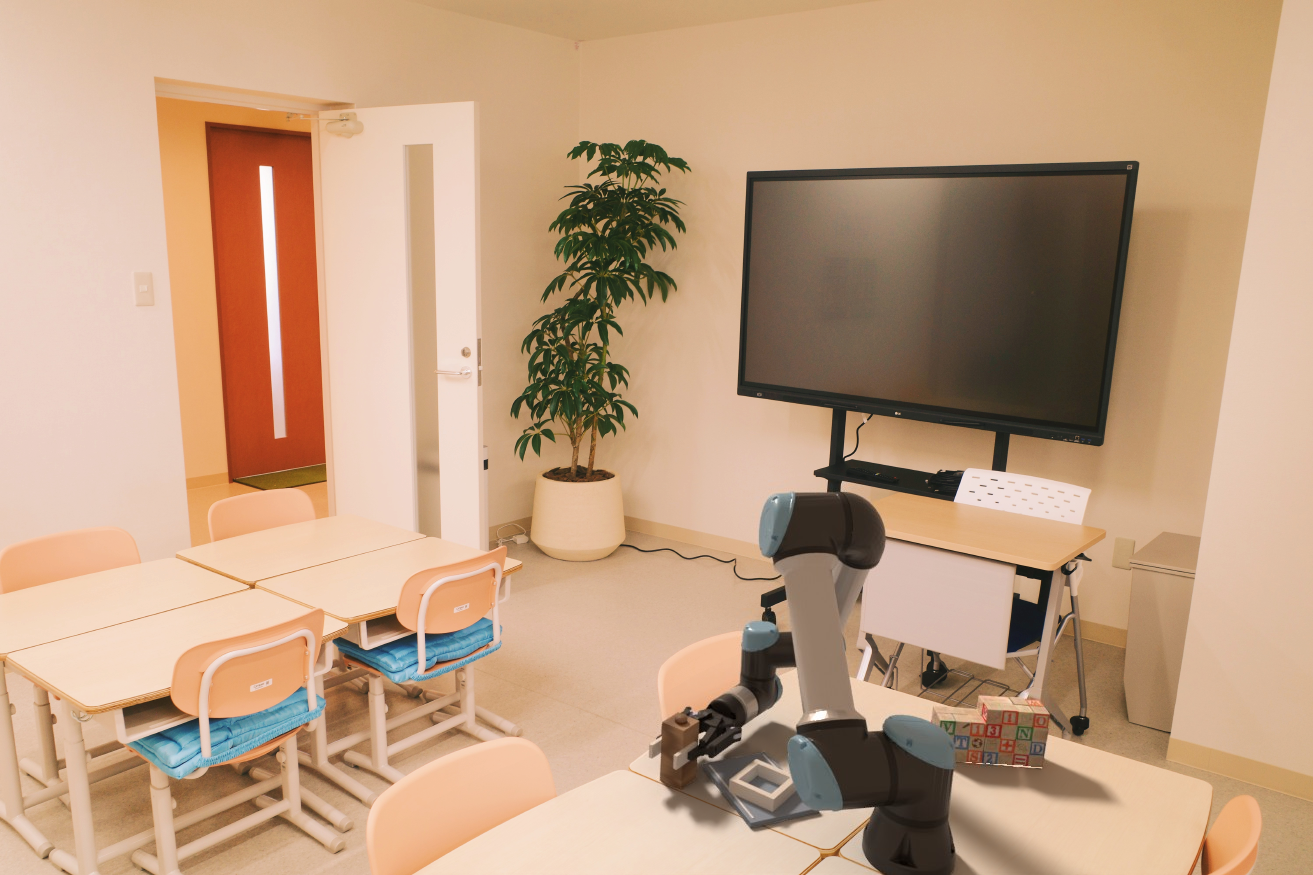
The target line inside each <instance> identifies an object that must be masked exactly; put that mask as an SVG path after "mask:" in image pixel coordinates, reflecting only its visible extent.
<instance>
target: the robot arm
mask: <svg viewBox="0 0 1313 875" xmlns="http://www.w3.org/2000/svg"><path fill="white" fill-rule="evenodd" d="M758 525H759V527H758V545H759V550H760V552H761V555H762V556H763V557H764V558H767V559H771V558H772V564H773V565H772V566H773V570H774V571H776V572H777V574H779V575H780V576H781V577H783V582H784V587H785V589H784V590H785V595H786V602H787V609H788V610H787V611H788V617H789V623H790V631H779V628H778V626H777V625H776V624H774V623H773V622H770V621H763V620H753V621H750V622H747V623H746V624H745V626H744V627H743V632H742V639H741V644H740V646H741V650H740V652H741V654H740V655H741V656H740V674H739V683H738V684H736V685H735V686H733V687H732V688H730V689H729V690H727V691H726V692H723V693H722V694H721V695H719V696H718V697H716V698H714V699H713V700H711V701H710V702H709V704H708V705H707V706H706V708H704V709H700V710H698V711H694V710H692V709H693V708H692V707H691V706H686V707H685V708H684V709H683V711H681V712H680V713H682V714H686V715H687V716H689V717H691V718H693V719H696V720H698V721H699V735H700V734H703V733H704V735H703V736H702V737H701V738H698V742H695V741H694V742H692V743H691V744H689V745H688V746H687V747H685V748H684V749H682V750H680V751H679V752H677V753H676V754H674V760H673V769H675V770H677V769H679V768H680V767H681V766H683V765H684V764H686V763H687V762H689V761H694V760H695V759H697V760H698V758H700V757H704V756H707V758H709V759H714V758H716V757H717V756H718V755H719V754H721V753H722V752H723V751H725V750H726V749H727V748H729V747H730V746H732V745H733V744H736V743H738V742H741V741H742V735H743V733H742V732H743V727H744V726H746V725H747V724H749V723H750V722H751V721H752V720H754V719H755V718H757V717H759V715H761V714H762V713H763V714H764V713H765V712H766V711H767V710H770V709H771V708H773V707H774V705H775V704H777V703H778V702H779V701H780V699H781V698H782V696H783V692H784V687H783V684H782V682H781V681H782V680H781V679H780V678H781V677H779V675H777V669H784V668H786V669H787V668H796V672H797V679H798V687H799V694H800V699H801V700H800V702H801V707H802V716H801V718H800V719H799V720H798V722H797V723H796V725H795V730H796V734H795V735H793V736H791V738H789V740H788V743H787V752H788V754H787V764H788V768H789V773H790V774H791V778H792V781H793V784H794V786H795V789H796V791H797V793H798V795H799V796H800V798H801V800H802V801H803V802H804V804H805V805H806V806H808V807H809V808H810V809H812V810H816V811H819V812H822V811H823V812H824V811H832V812H839V811H845V810H858V809H869V808H873V810H872V812H871V814H870V818H869V820H868V822H867V823H866V825H865V826H864V828H863V832H862V839H861V840H862V841H861V849H862V851H863V855H864V856H865V858H866V860H868V862H869V863H871V865H872V866H873V867H875V868H876V869H877V870H878V871H880V872H882V873H883V874H885V875H951V874H952V873H953V871H954V869H955V864H956V854H957V853H956V847H955V846H956V845H955V843H954V838H953V837H954V836H953V834H952V830H951V827H950V822H949V814H950V806H951V797H952V789H953V788H952V787H953V780H954V771H955V768H956V765H957V763H955V744H954V741H953V739H952V738H951V736H950V735H949V734H948V733H947V732H946V731H945V730H943V729H942V728H941V727H939V726H938V725H936V724H934V723H932V722H931V721H929V720H927V719H925V718H921V717H918V716H914V715H910V714H893V715H890V716H888V717H887V718H885V719H884V721H883V723H882V726H881V727H882V730H874V731H873V730H871V731H869V730H868V724H867V719H866V717H865V716H863V715H862V714H861V713H860V712H858V711H857V709H856V708H855V702H854V696H853V690H852V684H851V679H850V672H849V665H848V660H847V655H846V652H847V645H846V644H847V643H846V640H845V637H844V634H843V632H844V630H845V628H846V626H847V623H848V622H849V618H850V616H851V614H852V612H853V610H854V607H855V604H856V602H857V601H858V600H857V599H859V596H860V592H862V588H863V587H864V585H865V582H866V579H867V577H868V575H869V573H870V571H871V570H872V569H874V568H876V567H877V566H878V564H880V562H881V559H882V557H883V554H884V552H885V548H886V541H887V538H886V529H885V524H884V521H883V519H882V517H881V514H880V513H879V512H878V510H877V508H876V507H875V506H874V505H873V504H872V503H871V502H870V501H869V500H867V499H866V498H865V497H862V496H860V495H859V494H856V493H853V492H849V491H835V492H833V491H832V492H829V491H827V492H822V491H821V492H812V491H811V492H795V491H789V492H780V493H774V494H772V495H770V496H769V497H768V498H767V499H766V500H765V503H764V505H763V507H762V511H761V515H760V519H759V524H758ZM660 733H661V734H659V735H658V736H656V738H655V740H653V741H652V742H650V743H649V744H648V758H649V759H654V758H655V757H657V756H658V755H659V754H660V755H661V742H662V727H661V731H660ZM697 745H698V746H697Z"/></svg>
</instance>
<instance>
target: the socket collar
mask: <svg viewBox="0 0 1313 875" xmlns="http://www.w3.org/2000/svg"><path fill="white" fill-rule="evenodd" d="M756 776H759V777H762V778H764V779H766V780H769V781H771V782H773V783H776V784H778V785H780V787H779V788H778V789H776V790H775V791H774V792H773V793H772V794H771V793H768V792H766V791H764V790H761V789H759V788H757V787H755V786H752V785H750V784H748V783H749V782H750V781H752V780H753V779H754V778H755V777H756ZM729 792H730V793H733V794H735V795H737V796H739V797H741V798H743V799H745V800H748V801H750V802H752V803H754V804H756V805H758V806H761V807H763V808H765V809H767V810H769V811H772V812H773V811H775V810H776V809H777V808H778V807H779V806H780V805H781V804H782V803H784V802H785V801H786V800H787V799H788V798H789V797H790V796H791V795H793V794H794V793H795V792H796V789H795V786H794V784H793V781H792V778H791V774H790V771H789V772H788V771H786V770H784V769H783V770H781V769H779V768H777V767H774V766H772V765H770V764H767V763H765V762H762V761H760V760H758V759H755V760H754V761H753V762H752V763H750V764H749V765H748V766H746V767H745V768H744V769H743V770H741V771H740V772H739V773H737V774H736V775H735V776H734V777H732V778H731V779H730V780H729Z"/></svg>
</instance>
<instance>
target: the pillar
mask: <svg viewBox="0 0 1313 875" xmlns="http://www.w3.org/2000/svg"><path fill="white" fill-rule="evenodd" d="M661 728H662V742H661V753H660V767H659V781H661V782H663V783H665V784H668V785H670V786H671V787H674V788H676V789H678V790H680V791H681V790H683V789H684V788H685V787H688V786H689V784H691V783H692V782H695V780H697V777H698V776H697V773H698V758H697V759H695V760H694V761H689V762H687V763H686V764H684V765H683V766H681V767H680V768H679V769H677V770H675V769H673V760H674V754H676V753H677V752H679V751H680V750H682V749H684V748H685V747H687V746H688V745H689V744H691V743H692V742H694V741H695V742H698V743H699V739H700V738H699V736H700V734H699V721H698V720H696V719H693V718H691V717H689V716H687V715H686V714H682V713H681V712H678V711H677V712H676V713H674V714H672V715H671V716H670V717H668V718H667V719H665V720H663V721H661ZM698 745H699V744H698ZM698 745H697V746H698Z"/></svg>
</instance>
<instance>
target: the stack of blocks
mask: <svg viewBox="0 0 1313 875" xmlns="http://www.w3.org/2000/svg"><path fill="white" fill-rule="evenodd" d="M1050 717H1051V713H1049V711H1048V709H1047V708H1046V707H1045V706H1044V704H1043V703H1042V702H1041V700H1039V699H1031V698H1025V697H1017V696H996V695H994V696H993V695H980V694H979V695H978V699H977V705H976V708H971V707H970V708H969V707H968V708H967V707H958V706H957V707H955V706H941V705H933V706H932V711H931V720H930V722H932V723H934V724H936V725H938V726H939V727H941V728H942V729H943V730H945V731H946V732H947V733H948V734H949V735H950V736H951V738H952V739H953V741H954V744H955V762H972V763H985V764H986V763H990V764H1007V765H1023V766H1031V767H1043V768H1044V762H1045V756H1046V755H1045V753H1046V749H1047V748H1046V747H1047V742H1048V736H1049V730H1050V728H1049V725H1050V724H1049V723H1050Z"/></svg>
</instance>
